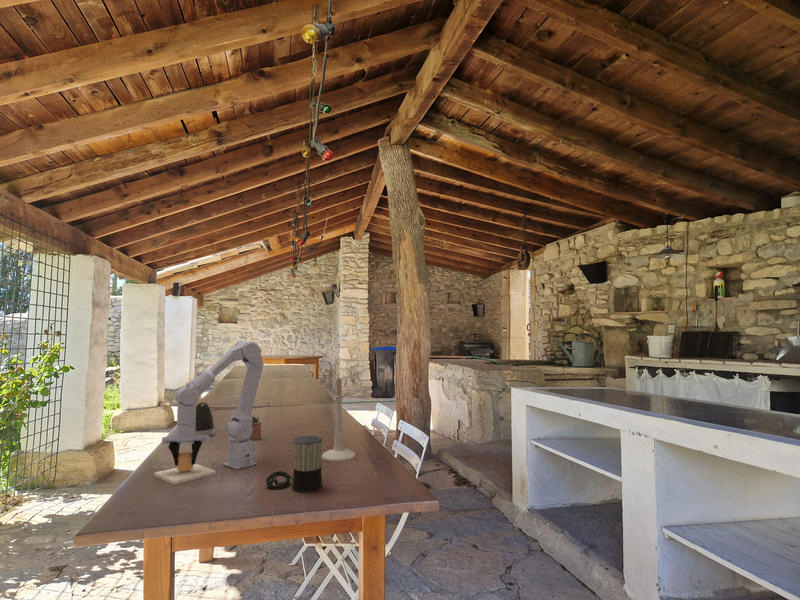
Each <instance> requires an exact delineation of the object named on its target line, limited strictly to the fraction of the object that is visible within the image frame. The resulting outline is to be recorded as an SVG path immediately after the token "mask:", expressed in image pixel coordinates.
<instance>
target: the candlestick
mask: <svg viewBox="0 0 800 600" xmlns="http://www.w3.org/2000/svg"><path fill="white" fill-rule="evenodd" d="M342 380H343V379H342V378H340V377H337V378H336V388H335V390H336V395H334V396H333V397H334V398H335V401H336V405H335V406H336V409H335V425H334V441H333V442H334V443H333V448H332V449H329V450H326V451H325V452H322V460H323V459H324V461H326V460H329V461H328V462H346V460H347V461H350V460H353V459H355V458H356V457H357V456H356V453H355V452H354V451H353V450H350V449H348V448H345V447H344V434H343V430H344V429H343V410H342V409H343V408H342V406H343V405H342V402H343V399H344V398H343V397H344V395H342V389H343V387H342V385H343V383H342V382H343V381H342Z"/></svg>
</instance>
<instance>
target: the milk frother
mask: <svg viewBox="0 0 800 600" xmlns="http://www.w3.org/2000/svg"><path fill="white" fill-rule="evenodd" d="M323 440H324V439H323V437H322V436H318V435H300V436H298V437H294V438H292V442H293V472H292V473H293V474H292V476H291V475H290V474H289V473H287V472H286V471H282V470H281V471H280V470H279V471H275V472H272V473H271V474H269V476H268V477H266V480H265V484H266V486H267V487H268V488H270V489H282V488H283V489H284V488H285V487H287V486H288V485H289V484H290V483H291V480H292V486H291V488H292V490H293V491H295V492H299V493H311V492H310V491H312V492H315V490H316V491H318V489H319V490H320V488H321V489H322V488H323V484H322V482H323V476H322V464H323V463H322V460H323V459H322V454H323V451H322V449H323V448H322V447H323ZM277 477H284V478H285V479H286V480H285V481H284V482H283V483H279V484H278V479H277Z"/></svg>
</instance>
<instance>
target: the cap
mask: <svg viewBox="0 0 800 600" xmlns="http://www.w3.org/2000/svg"><path fill="white" fill-rule="evenodd" d="M177 462H178V463H177V466H176V468H177V470H179V471H187V470H191V469H193V465H192V451H183V452H179V454H178V460H177Z"/></svg>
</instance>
